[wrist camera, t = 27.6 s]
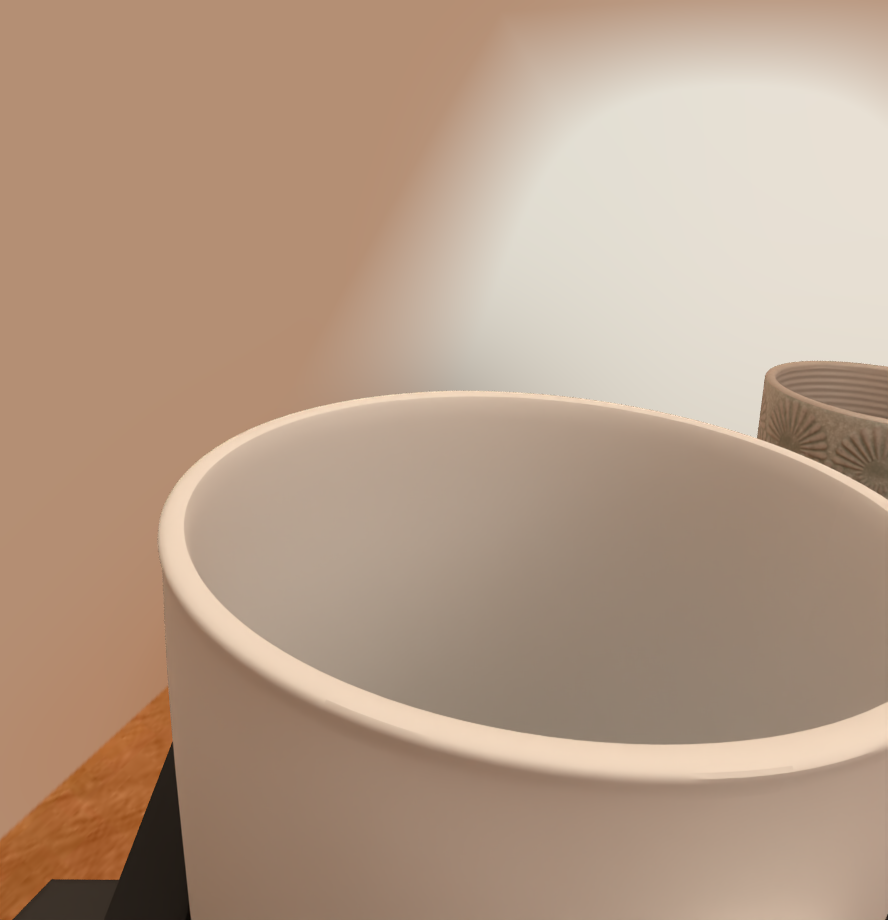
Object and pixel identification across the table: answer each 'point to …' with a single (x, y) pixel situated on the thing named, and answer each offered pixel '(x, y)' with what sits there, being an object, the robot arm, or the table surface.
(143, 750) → the table surface
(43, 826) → the table surface
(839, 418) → the planter
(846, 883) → the mug
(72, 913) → the robot arm
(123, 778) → the table surface
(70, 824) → the table surface
